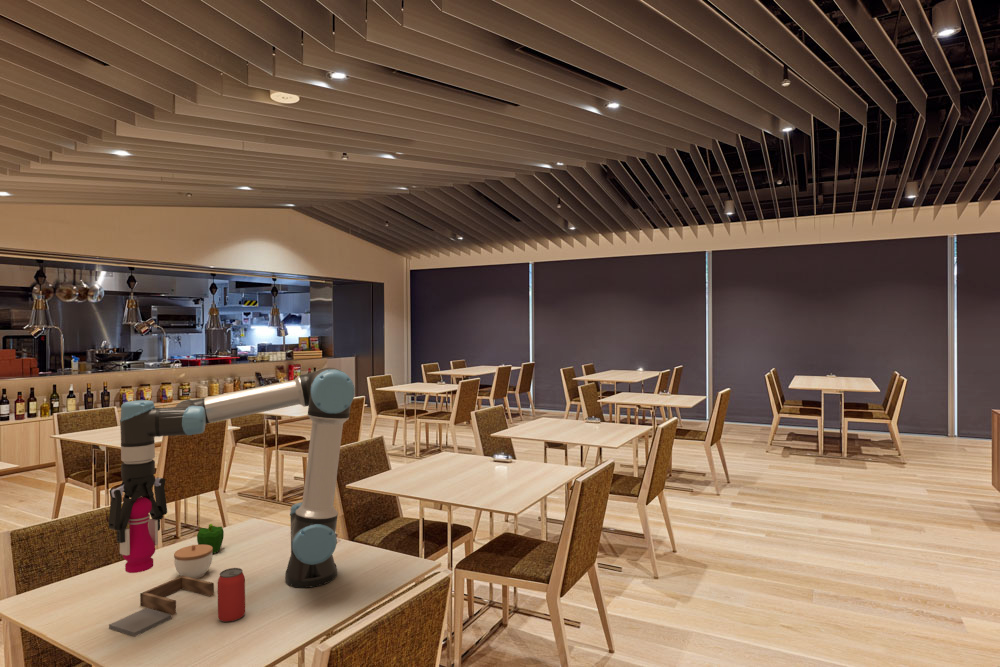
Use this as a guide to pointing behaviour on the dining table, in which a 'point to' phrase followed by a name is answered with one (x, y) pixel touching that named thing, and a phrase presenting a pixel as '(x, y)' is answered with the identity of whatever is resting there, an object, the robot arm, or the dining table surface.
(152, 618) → the coaster
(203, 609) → the dining table surface
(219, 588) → the beer can
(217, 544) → the bell pepper
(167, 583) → the u-shaped frame
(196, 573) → the lidded jar
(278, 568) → the dining table surface
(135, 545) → the pepper mill
